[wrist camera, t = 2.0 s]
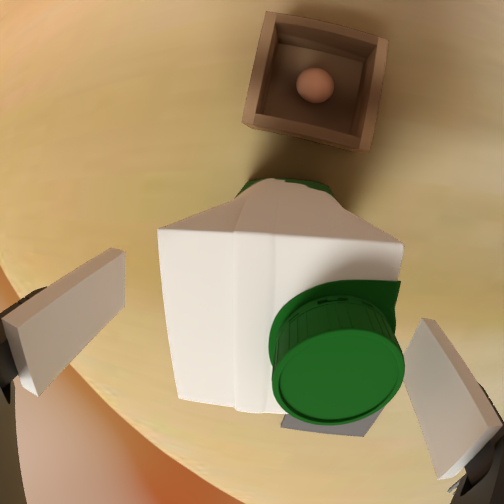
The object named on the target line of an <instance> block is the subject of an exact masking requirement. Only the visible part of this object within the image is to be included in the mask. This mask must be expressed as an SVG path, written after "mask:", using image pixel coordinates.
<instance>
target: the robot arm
mask: <svg viewBox="0 0 504 504" xmlns="http://www.w3.org/2000/svg"><path fill="white" fill-rule="evenodd" d="M125 261H126V251H123V250H119V249H115V248H110V249H108V250H106V251H105V252H103V253H101V254H100V255H98V256H96V257H94V258H93V259H91V260H90V261H88V262H86V263H85V264H83V265H81V266H80V267H78V268H76V269H75V270H73V271H72V272H70V273H68V274H67V275H65V276H64V277H62V278H61V279H59V280H57V281H56V282H54V283H53V284H51V285H50V286H48V287H47V286H46V287H43V288H40V289H37V290H34V291H33V292H31V293H30V294H28V295H27V296H25V298H22V299H21V300H19V301H18V303H15V304H13V305H12V306H10V307H9V308H7V309H6V310H4V311H3V312H2V313H0V504H27V502H26V497H25V493H24V488H23V482H22V477H21V470H20V463H19V455H18V447H17V435H16V420H15V386H14V382H13V379H14V378H15V377H16V376H17V375H19V378H20V381H21V383H22V386H23V387H24V388H25V389H27V390H28V391H30V392H31V393H33V394H35V395H36V396H38V397H39V396H40V395H41V394H42V393H43V391H44V390H45V389H46V388H47V387H48V386H49V385H50V384H51V383H52V382H53V381H54V379H55V378H56V377H57V376H58V375H59V374H60V373H61V372H62V371H63V370H64V368H66V366H67V365H68V364H69V363H70V362H71V361H72V360H73V359H74V358H75V357H76V356H77V355H78V354H79V353H80V352H81V351H82V349H83V348H84V347H85V346H86V345H87V344H88V343H89V342H90V341H91V340H92V339H93V338H94V337H95V336H96V335H97V334H98V333H99V332H100V331H101V330H102V329H103V328H104V327H105V326H106V325H107V324H108V323H109V322H110V321H111V320H112V319H113V318H114V317H115V316H116V315H117V314H118V313H119V312H120V311H121V310H122V309H123V308H124V307H125ZM403 356H404V362H405V374H404V378H403V382H404V384H405V387H406V389H407V392H408V394H409V397H410V400H411V402H412V405H413V408H414V410H415V413H416V416H417V418H418V421H419V424H420V427H421V430H422V433H423V435H424V438H425V441H426V444H427V447H428V450H429V453H430V456H431V460H432V463H433V466H434V469H435V473H436V476H437V479H438V480H441V479H447V478H452V477H454V476H455V475H456V474H458V473H459V472H460V471H461V470H462V469H463V468H464V467H465V470H466V474H465V475H464V476H463V477H462V478H461V479H460V480H458V481H457V482H456V483H455V484H454V485H453V486H452V487H450V489H449V490H448V491H447V492H449V493H450V492H451V491H452V490H453V489H454V488H456V487H457V489H456V491H455V492H454V493H453V495H454V496H453V499H452V501H451V503H450V504H504V422H503V420H502V418H501V416H500V415H499V413H498V411H497V410H496V408H495V406H494V405H493V403H492V401H491V399H490V398H488V397H489V396H488V395H487V393H486V391H485V390H484V388H483V387H482V386H481V385H480V384H479V383H478V382H477V381H476V379H475V378H474V376H473V374H472V373H471V371H470V370H469V368H468V367H467V365H466V364H465V362H464V361H463V359H462V358H461V356H460V355H459V353H458V352H457V351H456V349H455V348H454V346H453V345H452V343H451V342H450V340H449V339H448V338H447V336H446V335H445V333H444V332H443V331H442V329H441V328H440V327H439V325H438V324H437V322H436V321H435V320H431V319H426V318H421V320H420V322H419V325H418V327H417V329H416V331H415V333H414V335H413V337H412V339H411V341H410V343H409V345H408V347H407V349H406V351H405V353H404V355H403Z"/></svg>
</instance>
